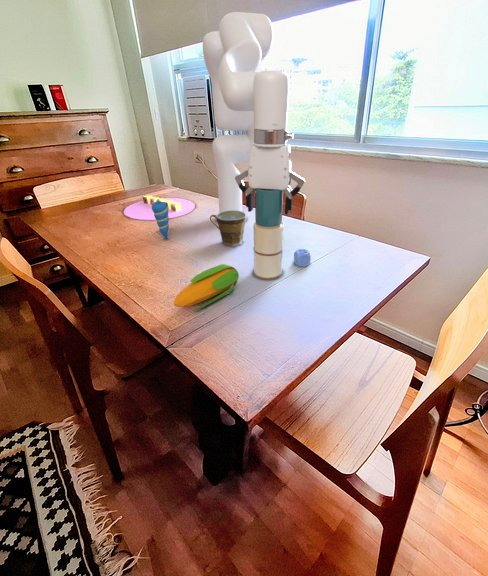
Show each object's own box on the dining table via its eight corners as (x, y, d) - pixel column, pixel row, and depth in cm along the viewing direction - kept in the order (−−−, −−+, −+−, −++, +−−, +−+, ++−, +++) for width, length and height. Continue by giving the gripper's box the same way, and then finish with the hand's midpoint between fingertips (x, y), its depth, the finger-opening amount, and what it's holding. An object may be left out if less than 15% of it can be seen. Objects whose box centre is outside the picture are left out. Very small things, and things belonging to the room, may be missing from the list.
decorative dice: (305, 259, 93) (306, 248, 91) (309, 265, 90) (311, 254, 88) (293, 260, 93) (294, 249, 91) (297, 267, 90) (298, 255, 87)
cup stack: (257, 264, 91) (257, 215, 83) (283, 267, 89) (286, 218, 81) (250, 277, 84) (249, 226, 76) (278, 281, 83) (281, 229, 74)
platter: (164, 194, 156) (162, 188, 154) (209, 205, 141) (208, 198, 139) (108, 211, 134) (106, 203, 132) (155, 225, 119) (153, 217, 117)
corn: (245, 262, 76) (181, 295, 63) (247, 287, 80) (187, 324, 67) (225, 255, 80) (161, 285, 68) (228, 280, 84) (168, 312, 71)
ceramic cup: (250, 239, 107) (250, 211, 102) (240, 250, 99) (239, 221, 94) (217, 234, 111) (215, 208, 105) (205, 245, 103) (202, 217, 98)
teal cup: (258, 216, 82) (258, 183, 77) (283, 218, 80) (285, 184, 76) (252, 225, 76) (252, 190, 71) (279, 228, 75) (280, 191, 70)
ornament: (169, 242, 105) (161, 200, 97) (155, 241, 106) (146, 199, 98) (175, 237, 109) (168, 196, 101) (162, 236, 110) (154, 195, 102)
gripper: (309, 137, 69) (303, 209, 78) (238, 135, 72) (240, 204, 82) (306, 141, 63) (300, 219, 72) (228, 139, 66) (232, 213, 76)
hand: (268, 211), depth 77 cm, fingers open, 9 cm apart
